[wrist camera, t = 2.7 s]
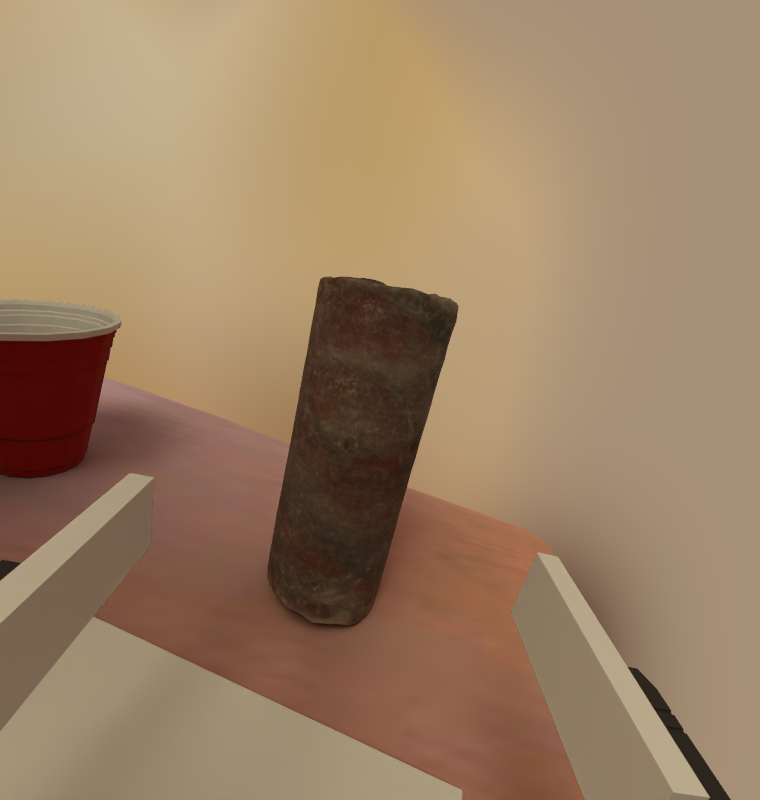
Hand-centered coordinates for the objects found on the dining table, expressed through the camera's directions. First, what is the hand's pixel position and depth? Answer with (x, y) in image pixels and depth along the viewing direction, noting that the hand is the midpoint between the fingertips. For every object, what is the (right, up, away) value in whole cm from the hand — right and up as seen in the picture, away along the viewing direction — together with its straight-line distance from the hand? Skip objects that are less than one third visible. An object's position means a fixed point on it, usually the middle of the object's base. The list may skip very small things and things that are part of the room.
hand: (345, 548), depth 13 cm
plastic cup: (-26, 0, +18) cm, 32 cm away
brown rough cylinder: (-3, -7, +13) cm, 15 cm away
